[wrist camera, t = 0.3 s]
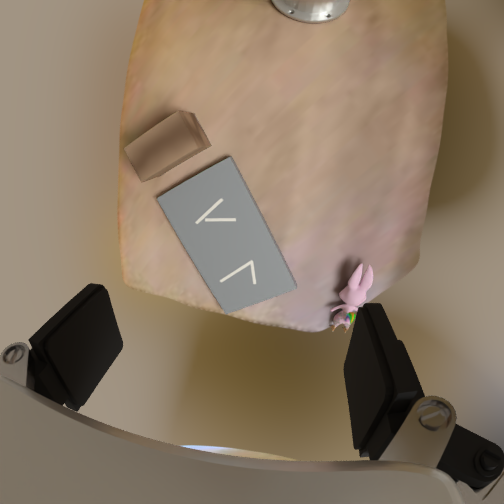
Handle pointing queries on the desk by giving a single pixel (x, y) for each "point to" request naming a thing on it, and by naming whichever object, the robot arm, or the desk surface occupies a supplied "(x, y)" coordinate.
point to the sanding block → (167, 145)
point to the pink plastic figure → (353, 296)
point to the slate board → (227, 237)
